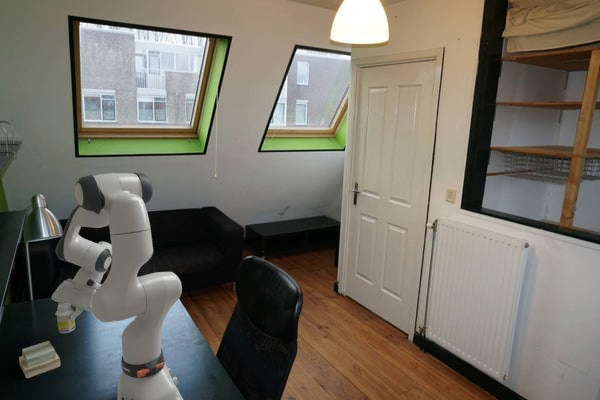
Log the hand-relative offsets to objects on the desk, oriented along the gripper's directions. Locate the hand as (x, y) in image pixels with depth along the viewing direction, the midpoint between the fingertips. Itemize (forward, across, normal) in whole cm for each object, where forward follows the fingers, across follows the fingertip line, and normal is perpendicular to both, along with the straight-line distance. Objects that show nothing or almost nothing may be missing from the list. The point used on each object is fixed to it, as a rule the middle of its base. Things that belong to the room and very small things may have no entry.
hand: (64, 317), depth 146 cm
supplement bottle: (+3, 0, +4) cm, 5 cm away
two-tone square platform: (+16, 0, +2) cm, 17 cm away
